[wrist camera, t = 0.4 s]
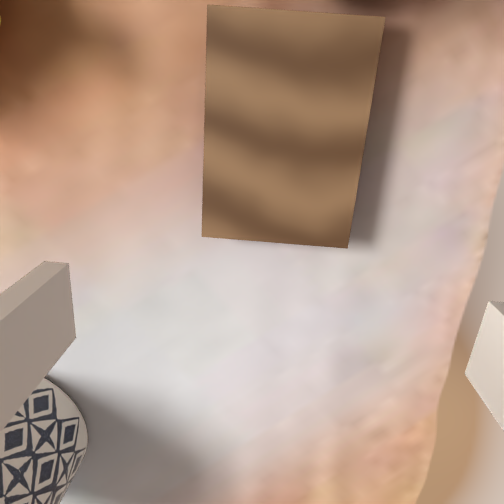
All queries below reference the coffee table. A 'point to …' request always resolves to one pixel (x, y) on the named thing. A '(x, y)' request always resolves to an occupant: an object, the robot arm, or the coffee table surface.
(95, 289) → the coffee table surface
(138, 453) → the coffee table surface
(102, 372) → the coffee table surface
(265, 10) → the stand
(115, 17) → the coffee table surface
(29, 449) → the planter
